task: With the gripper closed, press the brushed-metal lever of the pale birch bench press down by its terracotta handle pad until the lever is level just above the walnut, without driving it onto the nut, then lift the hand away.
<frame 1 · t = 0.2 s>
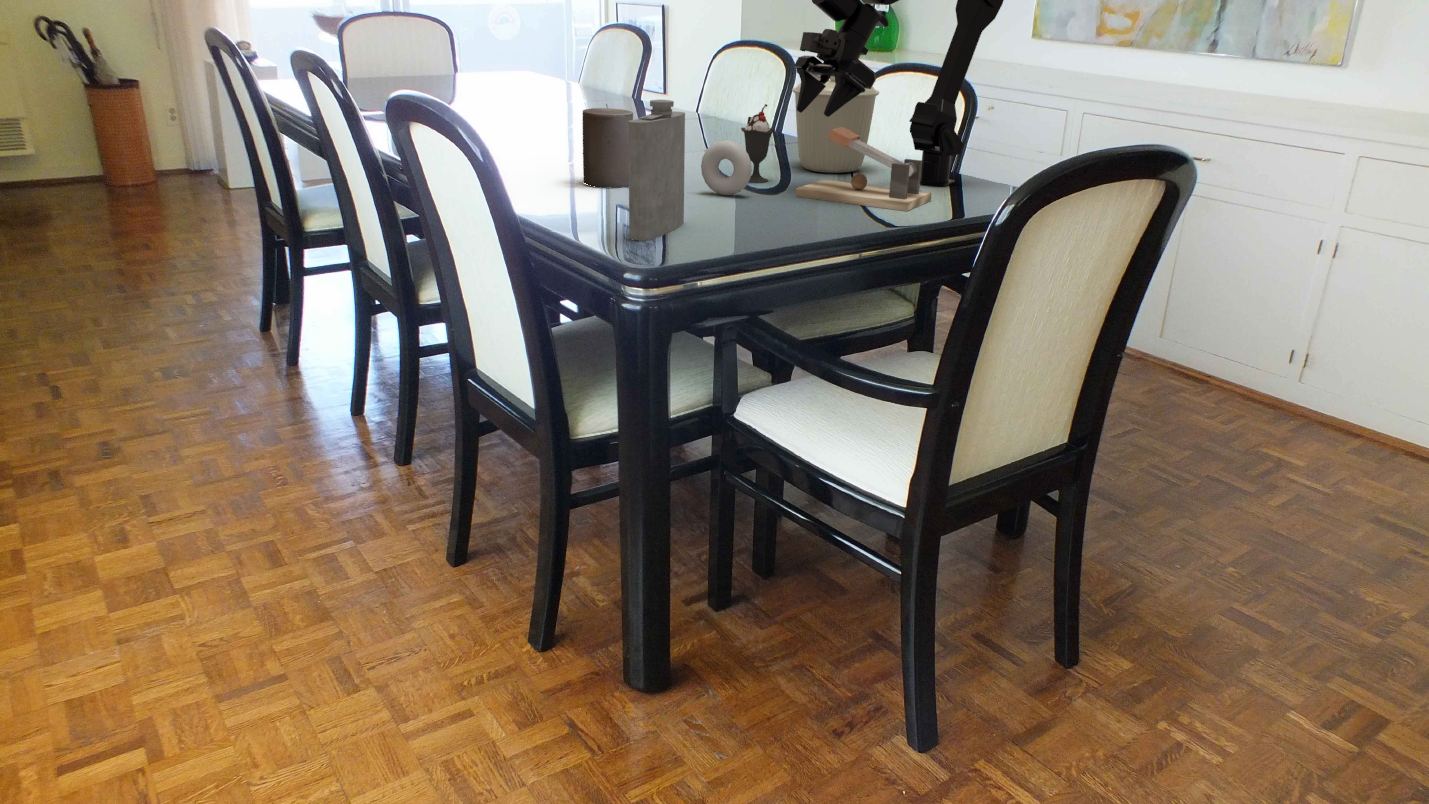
hand: (812, 113, 189), 15 cm above the table, tool tilted 30°, fingers open, 9 cm apart
canister: (830, 170, 222), on the table
lever: (872, 153, 189), point 8 cm above the table, hinge at -20.0°
sundae: (756, 181, 208), on the table
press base: (862, 198, 192), on the table
donut: (725, 196, 193), on the table
pillar candle: (608, 184, 201), on the table
hip flask: (659, 232, 164), on the table
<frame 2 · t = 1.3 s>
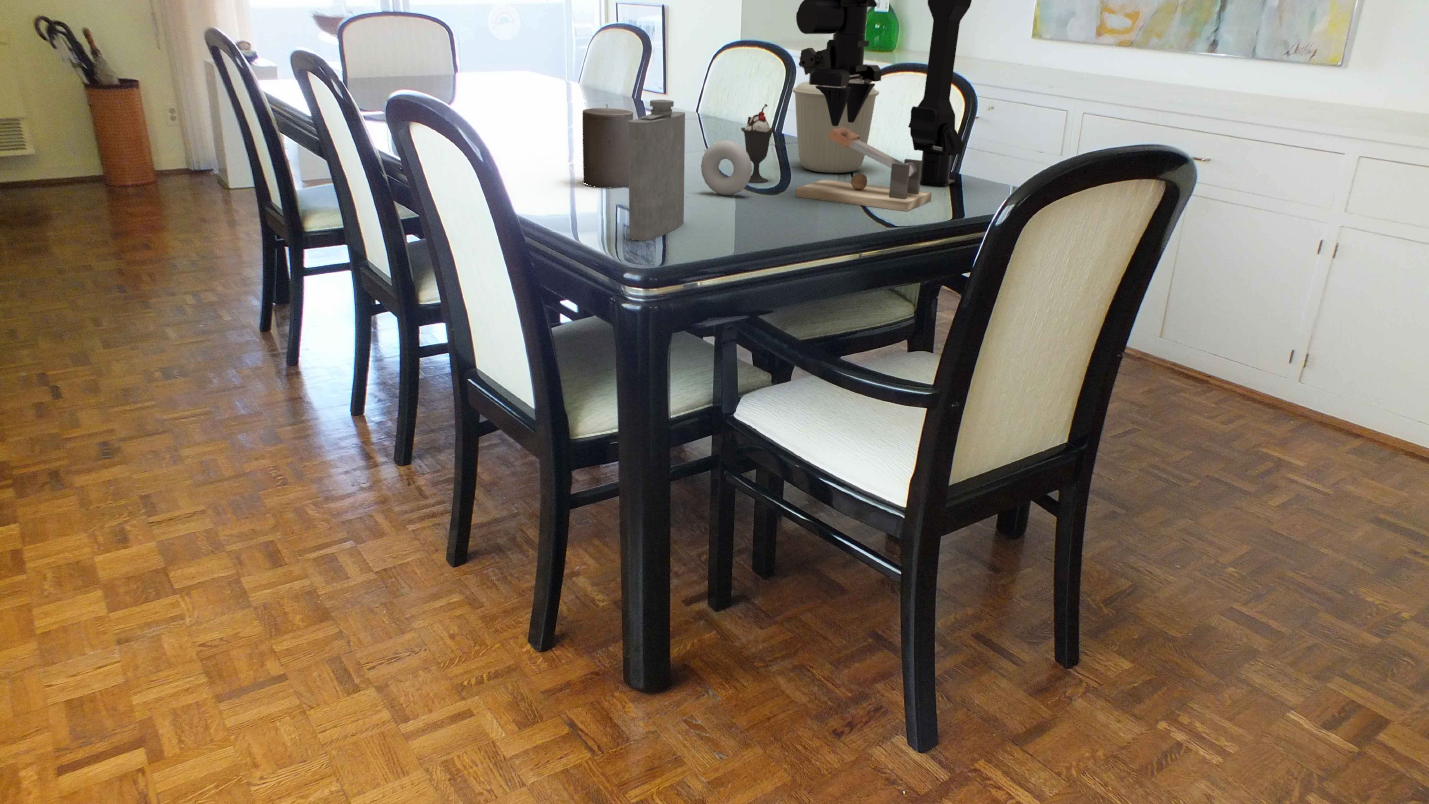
hand: (843, 124, 190), 13 cm above the table, tool pointing down, fingers open, 7 cm apart
nothing on the table moved.
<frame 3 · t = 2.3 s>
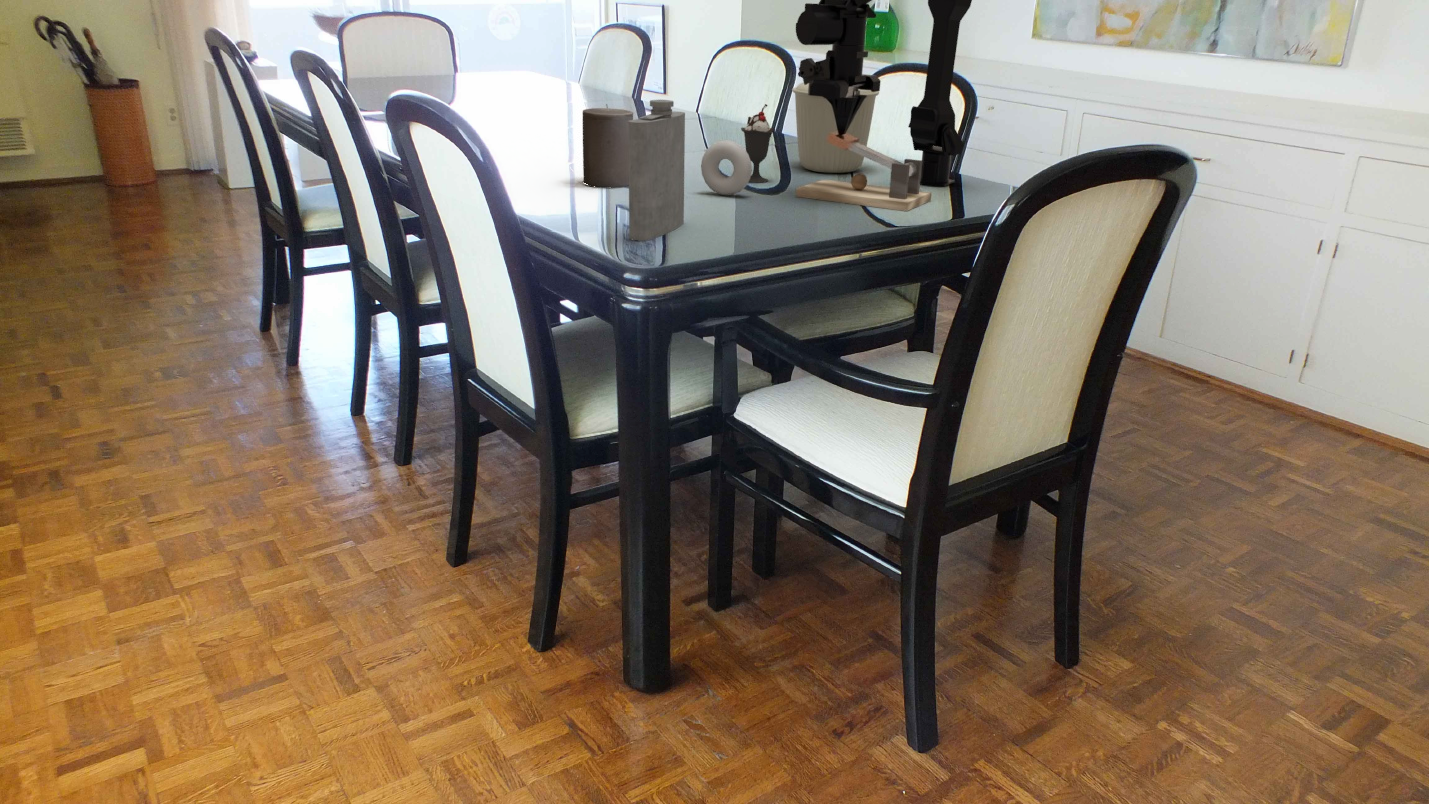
hand: (841, 134, 191), 11 cm above the table, tool pointing down, fingers closed, pressing on lever
lever: (872, 154, 189), point 8 cm above the table, hinge at -17.2°, touching gripper
everything else where it was.
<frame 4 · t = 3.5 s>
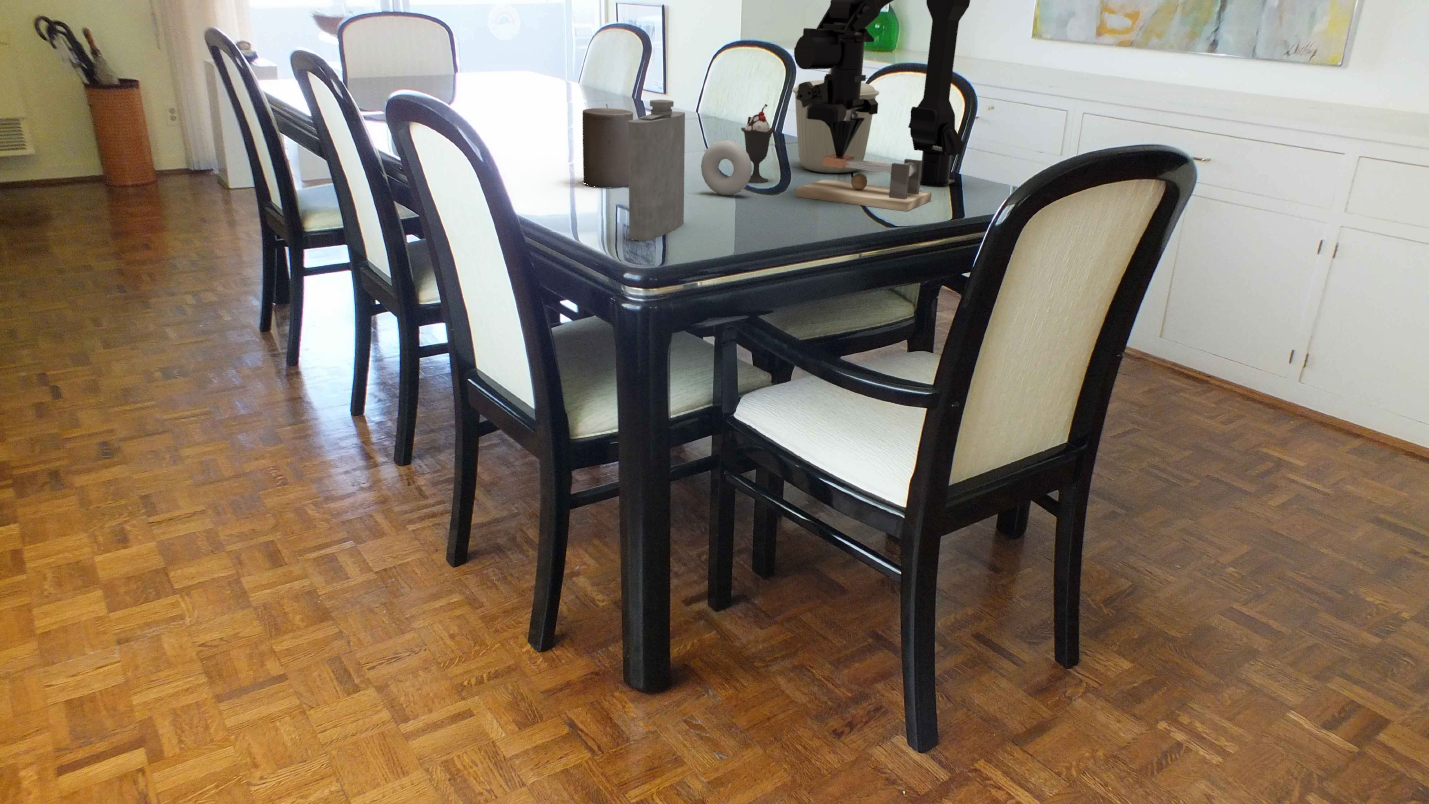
hand: (839, 156, 192), 7 cm above the table, tool pointing down, fingers closed, pressing on lever
lever: (869, 165, 190), point 6 cm above the table, hinge at -0.8°, touching gripper
everything else where it was.
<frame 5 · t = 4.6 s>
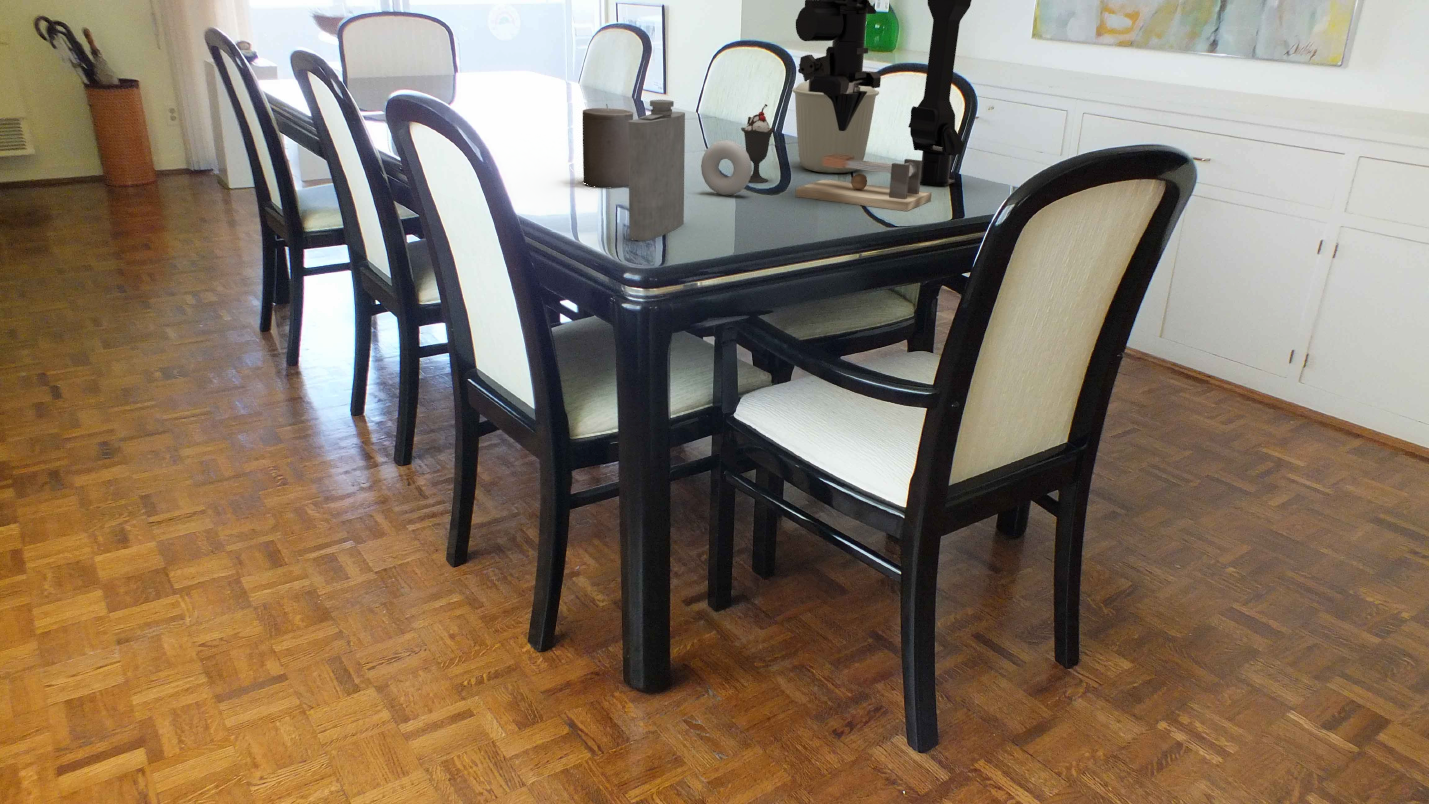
hand: (842, 130, 190), 12 cm above the table, tool pointing down, fingers closed
lever: (869, 165, 190), point 6 cm above the table, hinge at -0.8°
everything else where it was.
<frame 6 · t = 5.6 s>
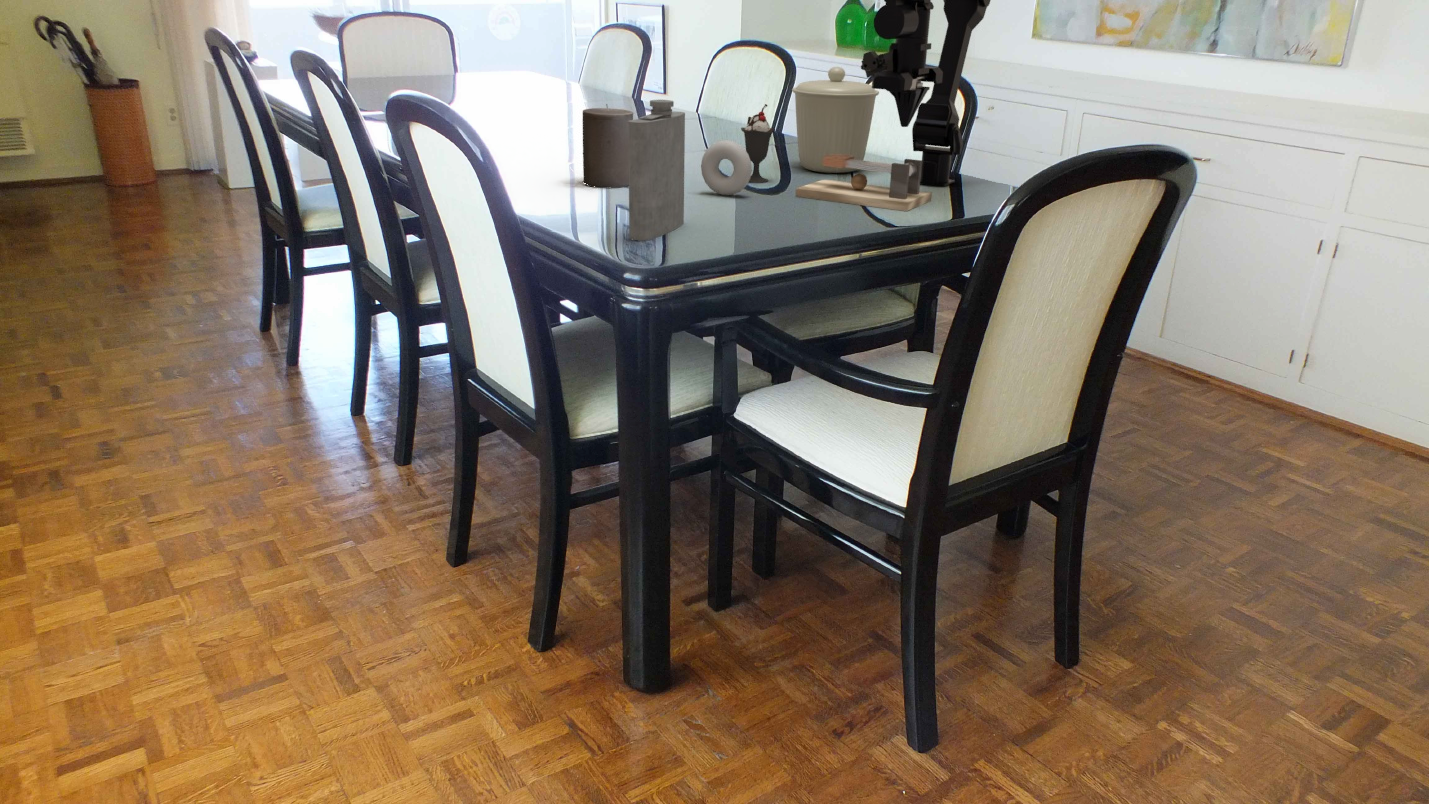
hand: (904, 126, 191), 13 cm above the table, tool pointing down, fingers closed
nothing on the table moved.
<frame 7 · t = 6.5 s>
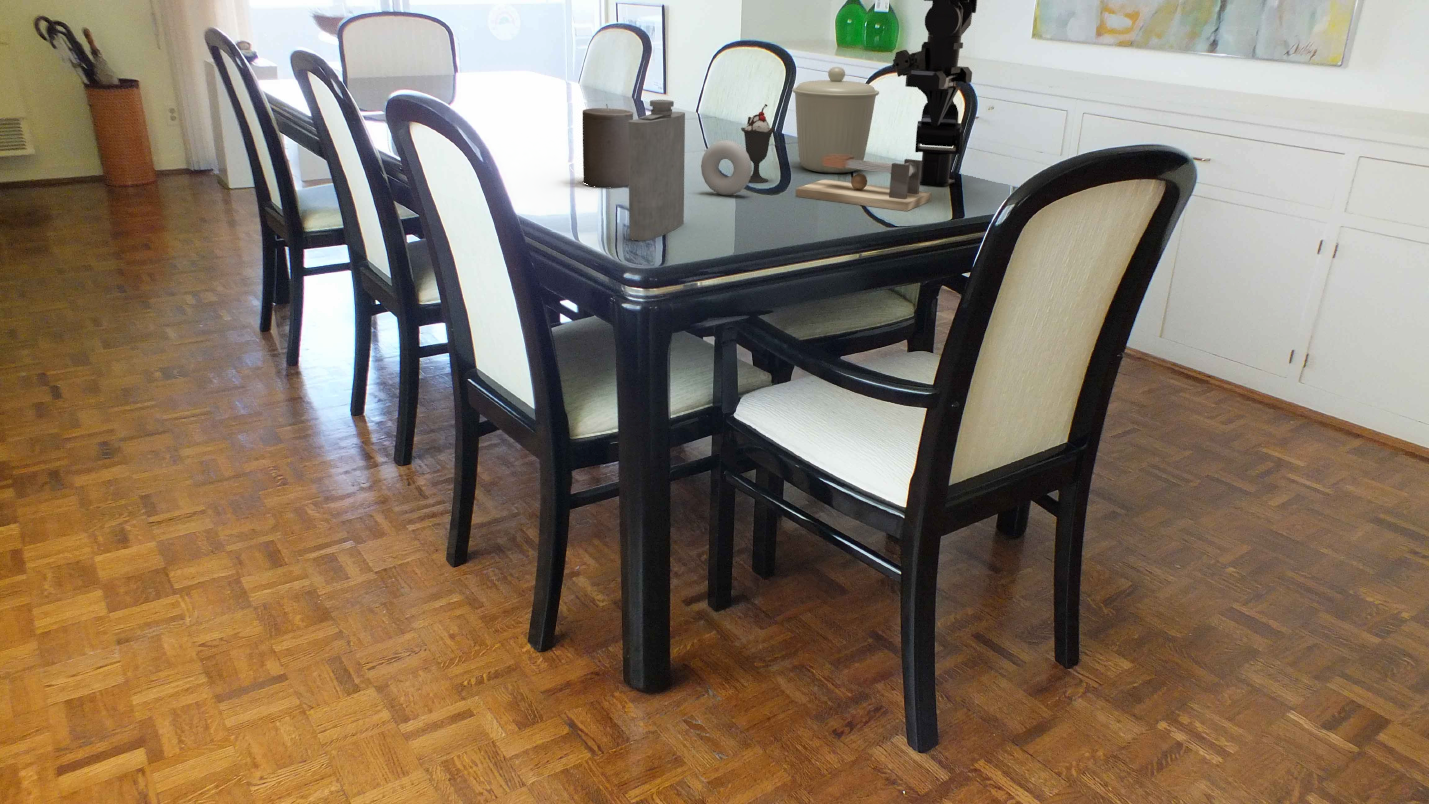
hand: (935, 125, 191), 13 cm above the table, tool pointing down, fingers closed
nothing on the table moved.
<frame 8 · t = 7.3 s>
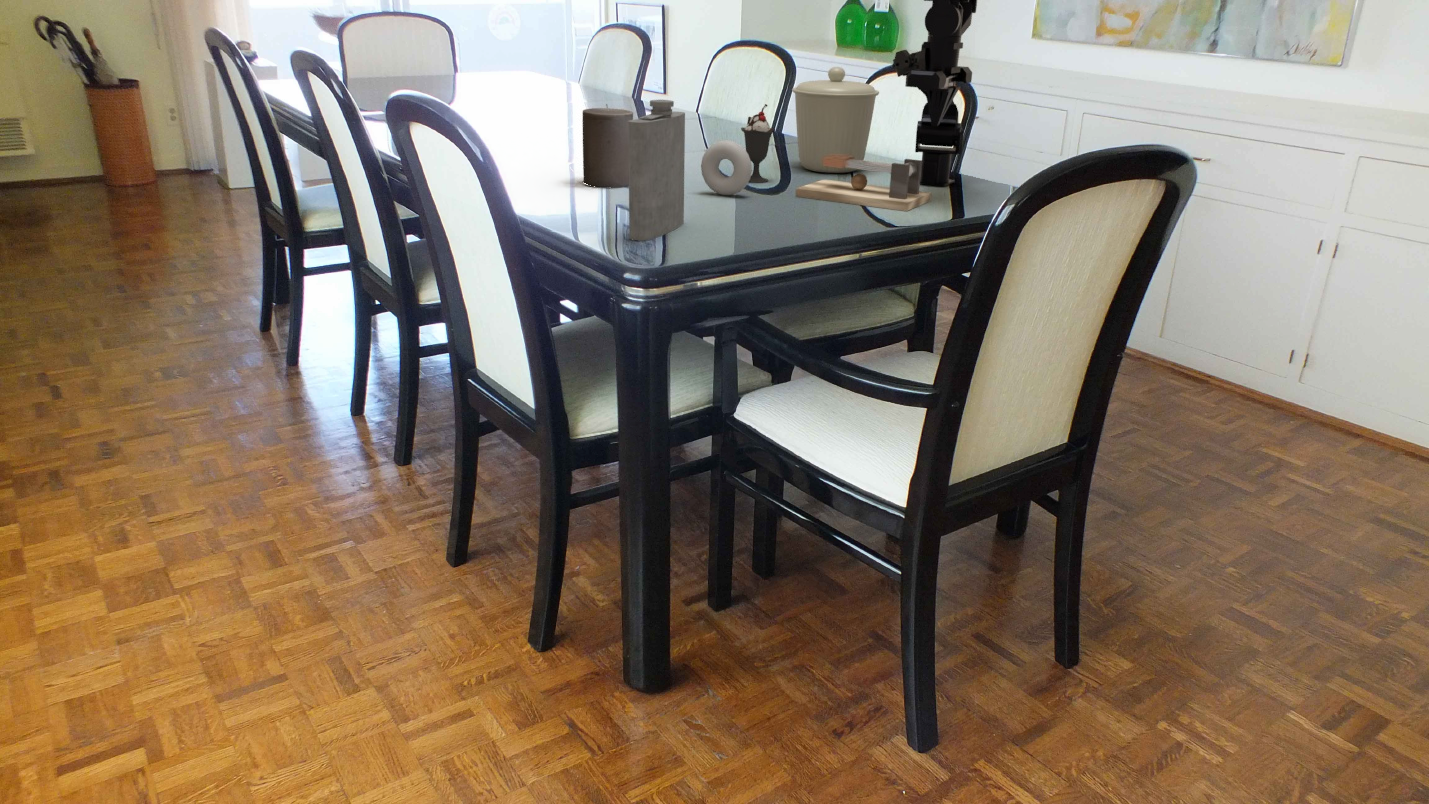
hand: (935, 125, 191), 13 cm above the table, tool pointing down, fingers closed
nothing on the table moved.
at the end: lever at -1° (first picture: -20°); sundae moved 0.2 cm from its start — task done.
